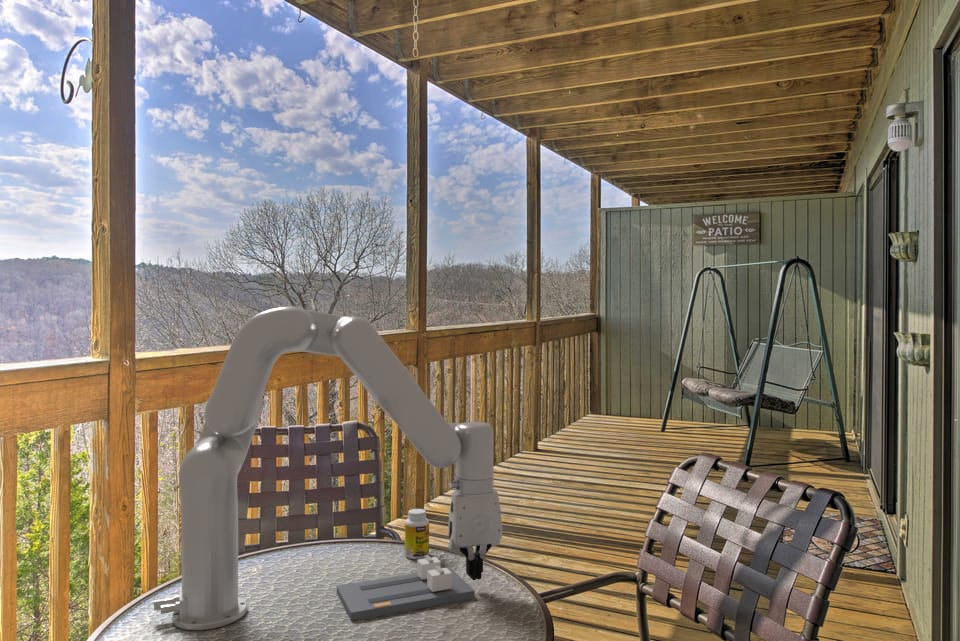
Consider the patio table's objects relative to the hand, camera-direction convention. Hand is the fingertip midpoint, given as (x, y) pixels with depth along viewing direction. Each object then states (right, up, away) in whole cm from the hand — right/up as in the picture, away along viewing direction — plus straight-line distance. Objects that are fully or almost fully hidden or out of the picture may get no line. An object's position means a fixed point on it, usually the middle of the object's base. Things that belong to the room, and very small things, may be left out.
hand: (474, 577), depth 130 cm
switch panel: (-14, -3, -2) cm, 14 cm away
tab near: (-7, -1, -3) cm, 7 cm away
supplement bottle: (-13, -3, +20) cm, 24 cm away
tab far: (-9, -1, +3) cm, 10 cm away
